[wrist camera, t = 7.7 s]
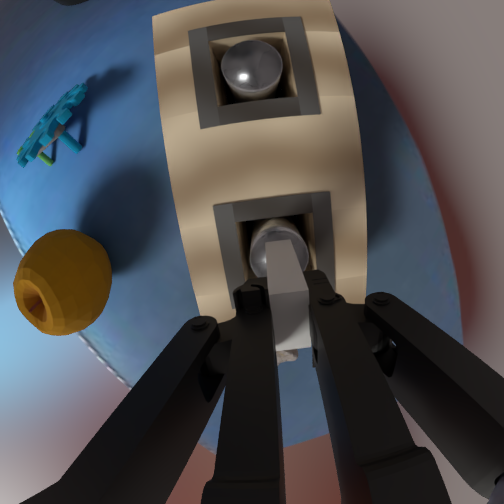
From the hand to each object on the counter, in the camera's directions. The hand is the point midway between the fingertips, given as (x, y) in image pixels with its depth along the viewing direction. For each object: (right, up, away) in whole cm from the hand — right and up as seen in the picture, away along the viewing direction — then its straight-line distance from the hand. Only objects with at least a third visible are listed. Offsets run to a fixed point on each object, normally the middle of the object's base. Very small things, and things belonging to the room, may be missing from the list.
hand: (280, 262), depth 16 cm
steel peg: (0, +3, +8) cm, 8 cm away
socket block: (-1, +9, +7) cm, 11 cm away
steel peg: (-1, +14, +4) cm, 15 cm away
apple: (-19, 0, +11) cm, 22 cm away
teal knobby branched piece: (-22, +14, +6) cm, 26 cm away
